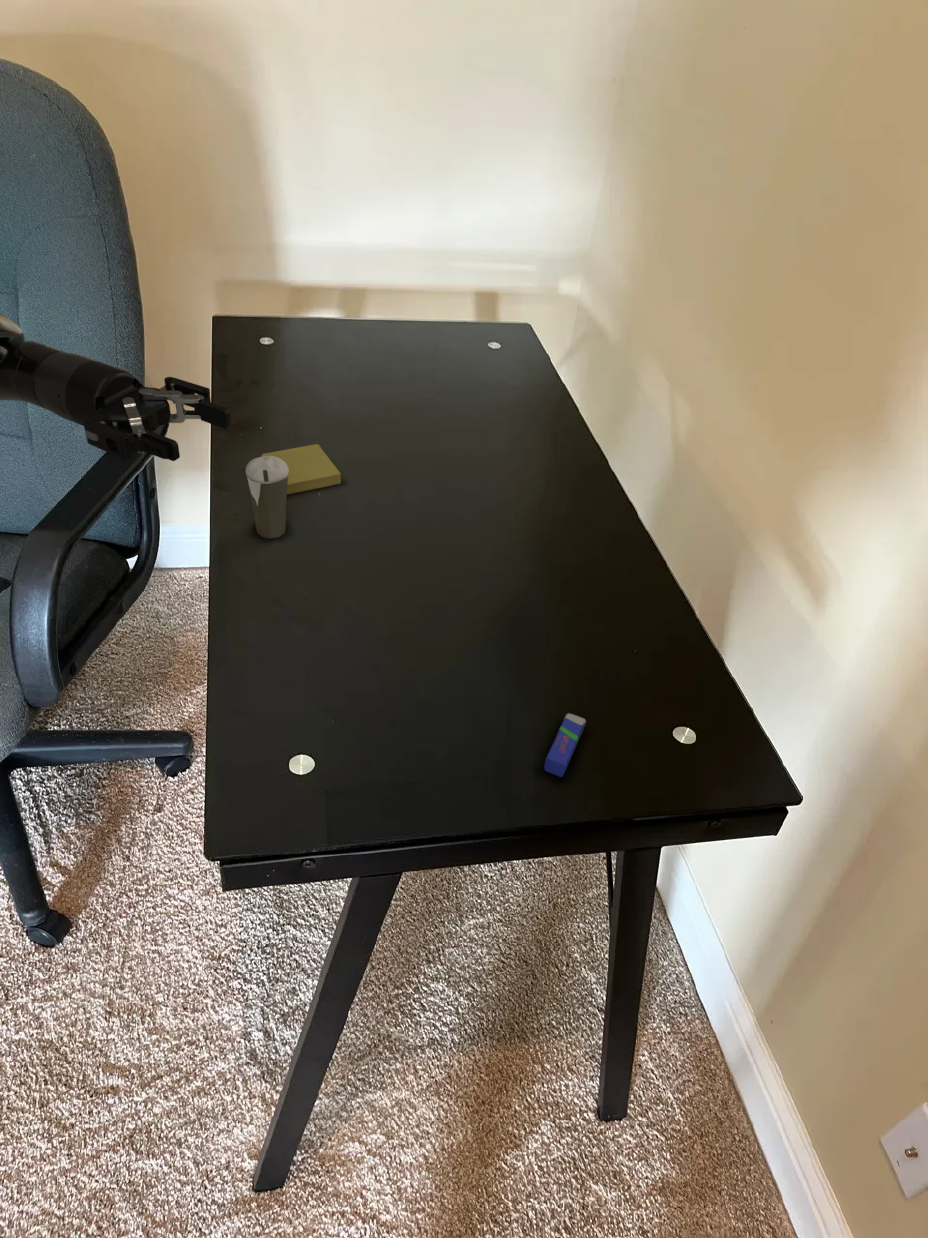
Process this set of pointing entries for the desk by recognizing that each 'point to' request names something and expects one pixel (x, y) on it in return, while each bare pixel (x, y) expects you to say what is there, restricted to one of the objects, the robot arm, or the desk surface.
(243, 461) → the desk surface
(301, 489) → the note pad
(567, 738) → the eraser
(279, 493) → the milkshake
